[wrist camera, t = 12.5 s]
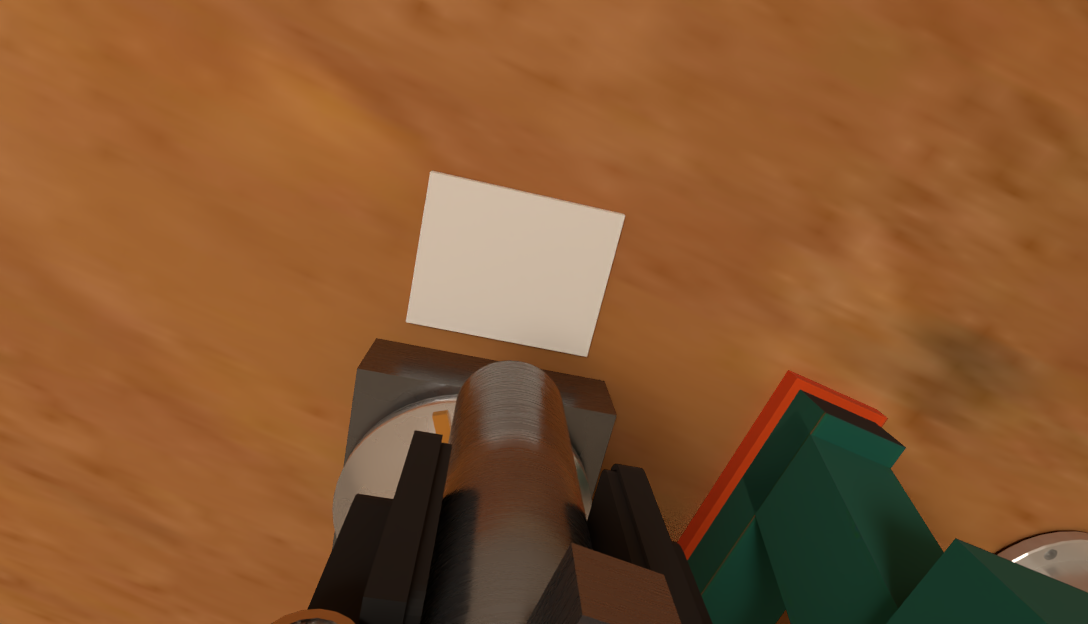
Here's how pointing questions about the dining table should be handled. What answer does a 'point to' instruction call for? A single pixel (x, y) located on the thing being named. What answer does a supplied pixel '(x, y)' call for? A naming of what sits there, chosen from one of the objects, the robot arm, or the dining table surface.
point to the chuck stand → (425, 373)
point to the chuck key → (525, 519)
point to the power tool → (844, 532)
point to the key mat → (511, 264)
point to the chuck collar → (403, 454)
